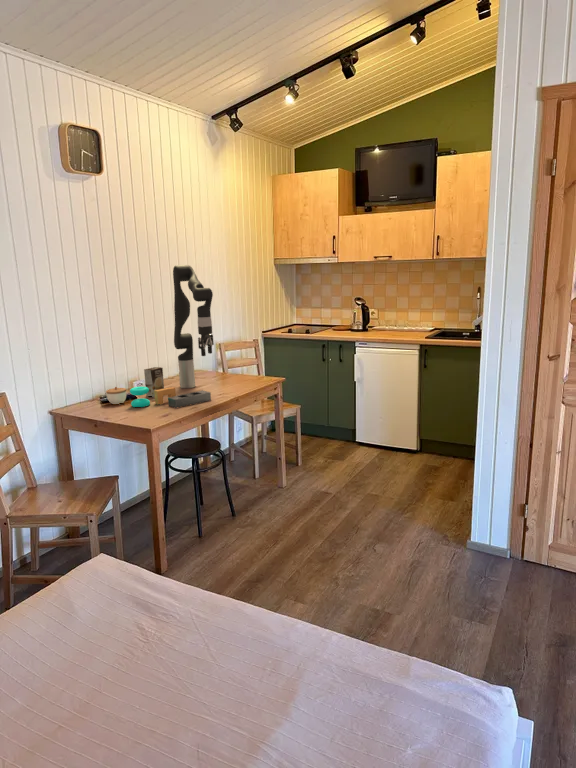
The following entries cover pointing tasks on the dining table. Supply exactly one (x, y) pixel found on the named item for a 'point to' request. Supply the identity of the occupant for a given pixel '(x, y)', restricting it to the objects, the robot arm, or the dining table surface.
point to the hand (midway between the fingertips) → (206, 354)
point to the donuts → (142, 401)
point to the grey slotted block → (189, 398)
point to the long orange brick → (162, 392)
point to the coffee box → (154, 380)
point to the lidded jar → (116, 395)
